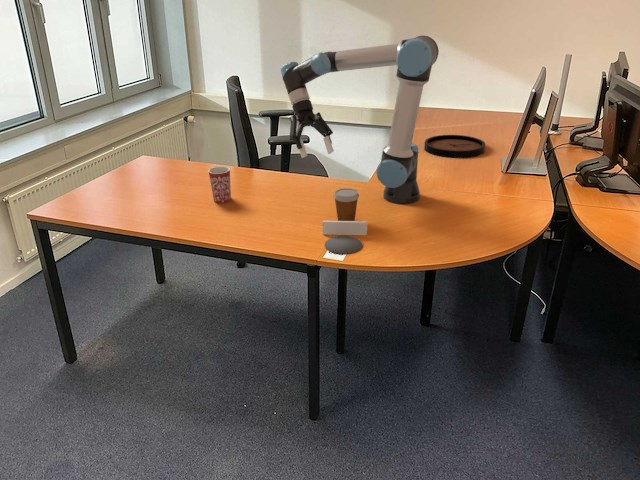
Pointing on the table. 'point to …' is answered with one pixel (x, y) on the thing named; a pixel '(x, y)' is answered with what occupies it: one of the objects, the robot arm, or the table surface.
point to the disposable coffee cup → (346, 203)
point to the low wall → (344, 227)
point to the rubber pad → (343, 245)
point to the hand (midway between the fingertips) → (318, 154)
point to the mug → (220, 183)
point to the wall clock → (454, 146)
